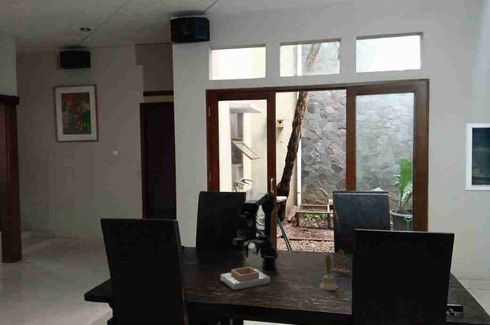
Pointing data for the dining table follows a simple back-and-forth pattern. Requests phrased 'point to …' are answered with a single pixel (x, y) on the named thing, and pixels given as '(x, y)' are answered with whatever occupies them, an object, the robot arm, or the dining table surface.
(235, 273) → the grey board with frame
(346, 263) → the gingerbread man figurine
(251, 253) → the spout can
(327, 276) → the hand bell
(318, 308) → the dining table surface
